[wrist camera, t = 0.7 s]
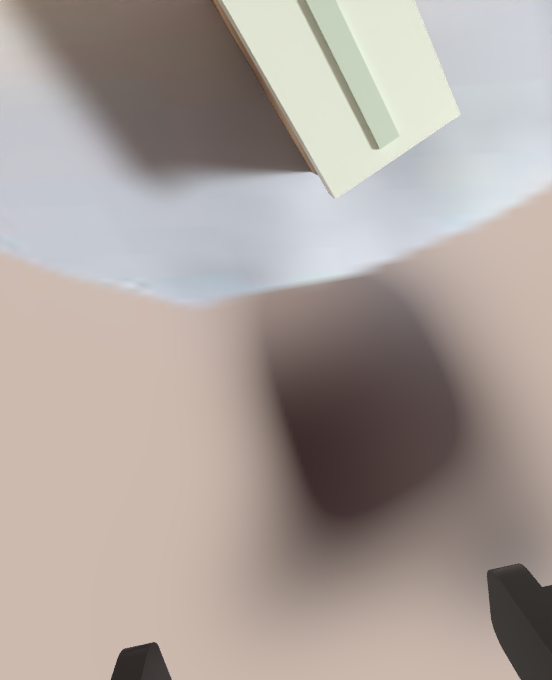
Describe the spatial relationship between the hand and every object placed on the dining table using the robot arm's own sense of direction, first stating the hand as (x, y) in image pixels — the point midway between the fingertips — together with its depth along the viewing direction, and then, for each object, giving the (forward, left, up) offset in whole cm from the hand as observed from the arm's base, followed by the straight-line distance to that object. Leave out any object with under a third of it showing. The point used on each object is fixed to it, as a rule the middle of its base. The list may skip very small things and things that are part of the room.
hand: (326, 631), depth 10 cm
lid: (-13, +10, -17) cm, 23 cm away
